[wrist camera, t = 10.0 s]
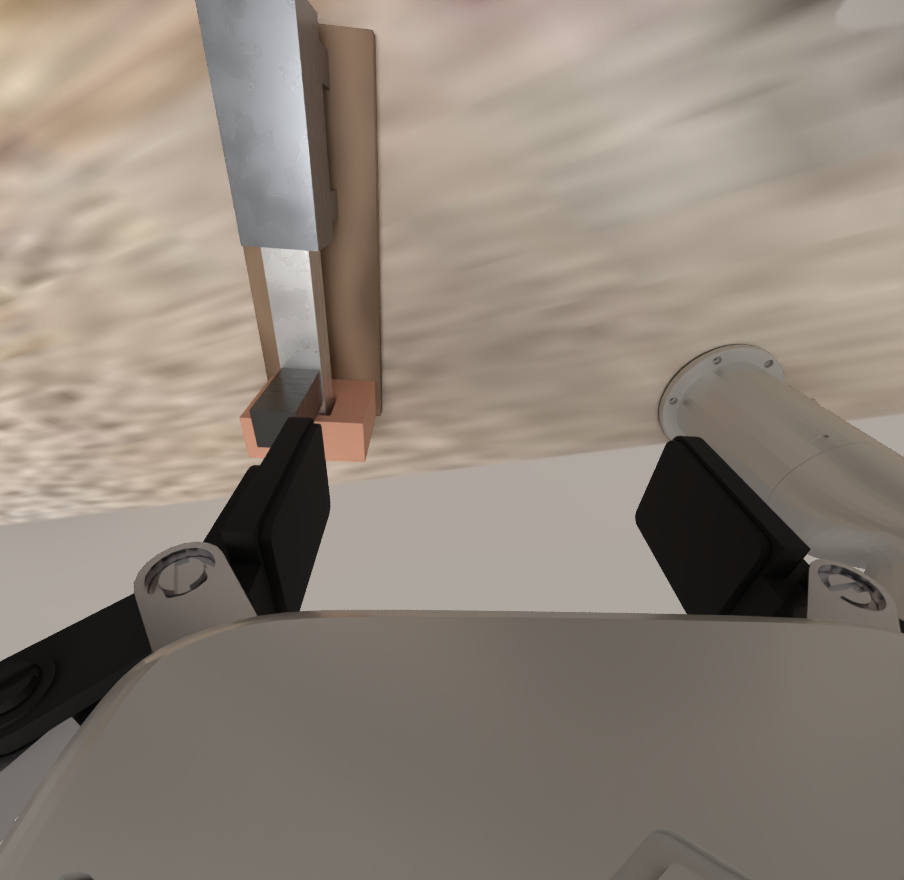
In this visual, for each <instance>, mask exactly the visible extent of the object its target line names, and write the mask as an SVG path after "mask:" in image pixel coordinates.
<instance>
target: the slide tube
mask: <svg viewBox="0 0 904 880" xmlns="http://www.w3.org/2000/svg"><path fill="white" fill-rule="evenodd" d="M261 253H262V259H263V265H264V271H265V277H266V283H267V289H268V295H269V301H270V307H271V313H272V319H273V326H274V332H275V338H276V344H277V350H278V356H279V362H280V368H281V369H280V370H279V372H278V373H277V374H276V376H275V377H274V378H273V380H272V381H271V382H270V383H269V385H268V386H267V387H266V389H265V390H264V391H263V393H262V394H261V395H260V397H259V398H258V399H257V400H256V402H255V403H254V404H253V406H252V407H251V408H250V410H249V412H250V416H251V421H252V425H253V430H254V434H255V438H256V443H257V447H263V448H271V446H272V444H273V443H274V441H275V439H276V437H277V436H278V434H279V432H280V431H281V429H282V427H283V426H284V424H285V422H286V420H287V419H288V418H289V417H307V418H313V420H314V421H315V419H316V417H317V415H323V416H330V415H331V413H332V411H333V408H334V397H333V386H332V375H331V365H330V354H329V343H328V332H327V321H326V310H325V299H324V288H323V278H322V267H321V256H320V251H306V250H293V249H280V248H267V247H261Z"/></svg>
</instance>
